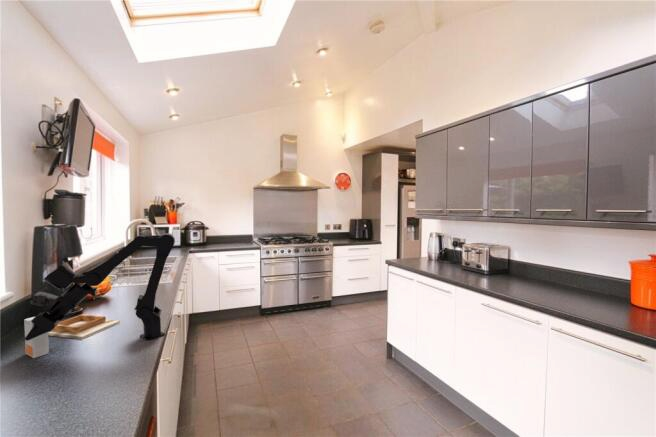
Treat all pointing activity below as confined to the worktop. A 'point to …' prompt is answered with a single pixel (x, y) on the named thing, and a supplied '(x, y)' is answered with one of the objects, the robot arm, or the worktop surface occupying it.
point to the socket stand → (82, 326)
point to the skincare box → (35, 341)
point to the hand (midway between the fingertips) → (31, 335)
